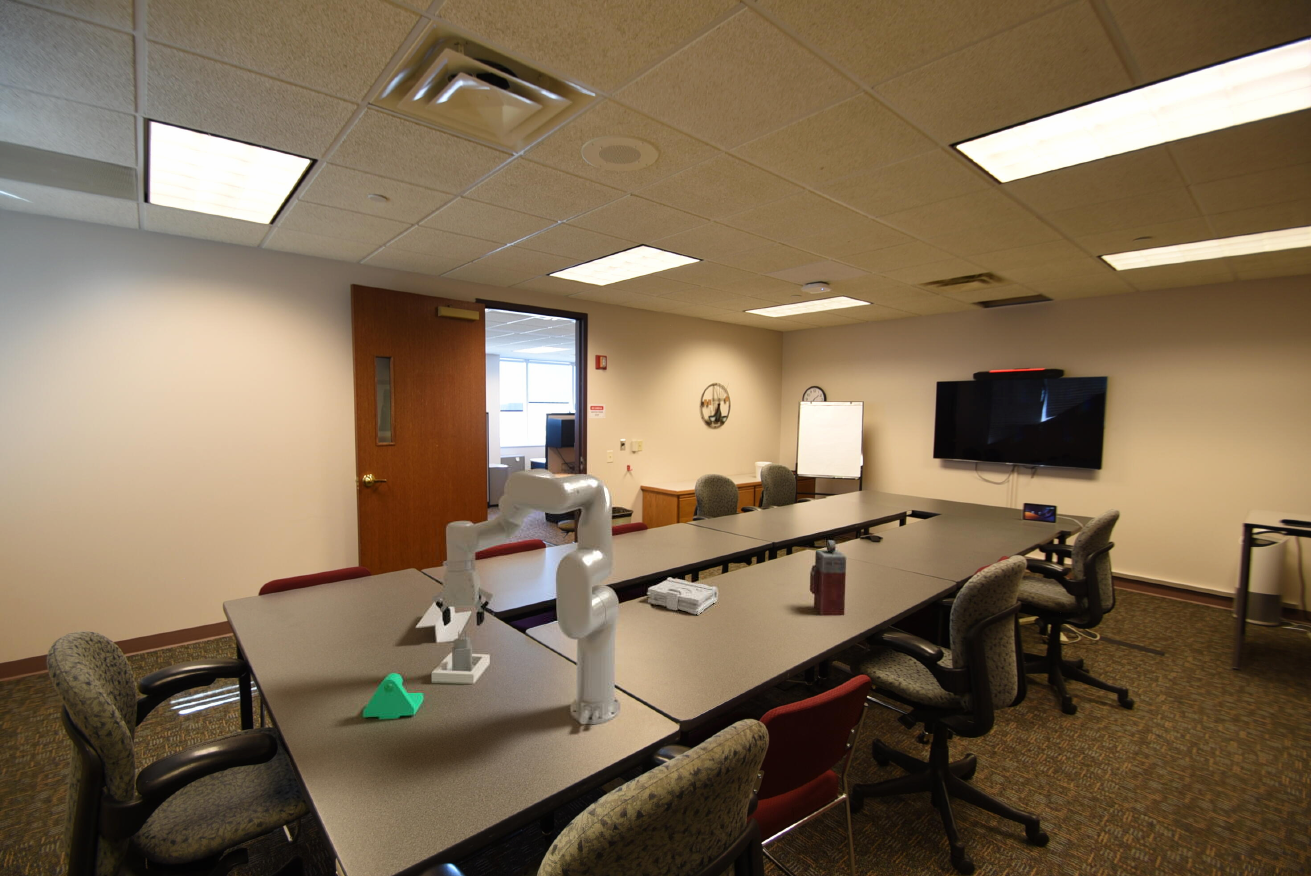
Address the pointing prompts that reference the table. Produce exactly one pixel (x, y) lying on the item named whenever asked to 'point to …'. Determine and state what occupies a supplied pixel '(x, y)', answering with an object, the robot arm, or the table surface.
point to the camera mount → (392, 700)
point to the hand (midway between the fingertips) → (463, 623)
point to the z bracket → (441, 631)
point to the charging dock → (446, 674)
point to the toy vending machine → (829, 581)
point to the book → (683, 595)
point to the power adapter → (462, 654)
